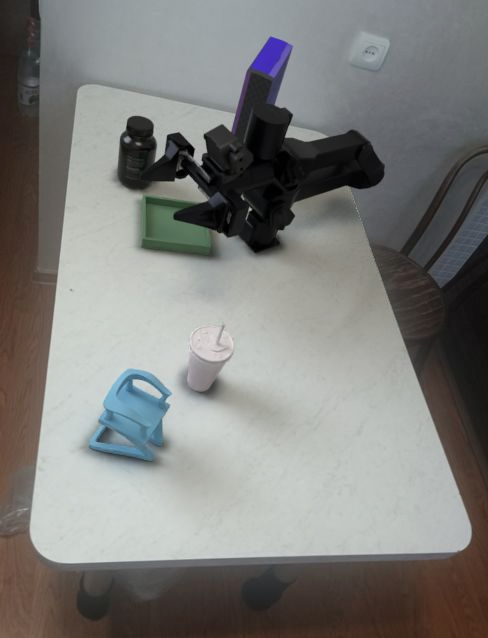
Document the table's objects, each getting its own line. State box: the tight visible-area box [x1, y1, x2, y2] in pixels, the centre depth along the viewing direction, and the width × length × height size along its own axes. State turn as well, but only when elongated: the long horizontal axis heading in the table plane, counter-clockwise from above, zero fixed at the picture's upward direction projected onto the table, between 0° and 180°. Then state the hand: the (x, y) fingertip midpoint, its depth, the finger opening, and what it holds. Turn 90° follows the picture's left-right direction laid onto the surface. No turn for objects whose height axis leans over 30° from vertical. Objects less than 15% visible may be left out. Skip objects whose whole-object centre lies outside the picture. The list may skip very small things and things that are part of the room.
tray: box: [140, 193, 212, 256], centre depth 99 cm, size 12×12×2 cm
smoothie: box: [186, 321, 236, 392], centre depth 75 cm, size 6×6×14 cm
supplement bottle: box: [116, 115, 158, 190], centre depth 101 cm, size 7×7×12 cm
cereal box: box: [230, 36, 294, 147], centre depth 108 cm, size 17×5×24 cm, turn 164°
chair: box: [88, 368, 173, 462], centre depth 68 cm, size 8×8×12 cm
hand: (156, 196), depth 78 cm, fingers open, 9 cm apart
